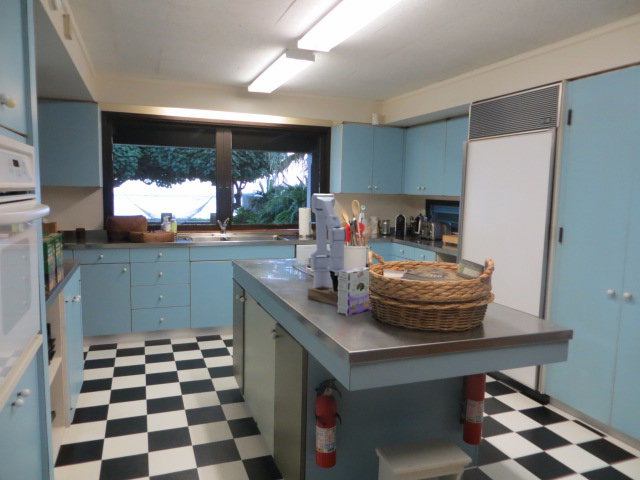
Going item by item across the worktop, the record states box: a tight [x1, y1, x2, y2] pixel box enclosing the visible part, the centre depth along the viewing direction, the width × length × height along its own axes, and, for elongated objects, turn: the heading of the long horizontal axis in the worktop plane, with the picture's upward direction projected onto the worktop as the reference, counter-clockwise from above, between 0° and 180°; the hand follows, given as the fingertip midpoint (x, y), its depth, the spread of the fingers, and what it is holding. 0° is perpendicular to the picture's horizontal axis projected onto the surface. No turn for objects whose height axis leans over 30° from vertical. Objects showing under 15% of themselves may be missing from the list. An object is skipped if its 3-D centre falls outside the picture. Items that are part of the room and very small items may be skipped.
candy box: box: [336, 266, 371, 317], centre depth 176 cm, size 14×6×16 cm, turn 134°
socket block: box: [307, 286, 338, 306], centre depth 194 cm, size 9×16×4 cm, turn 46°
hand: (336, 289), depth 191 cm, fingers open, 7 cm apart
